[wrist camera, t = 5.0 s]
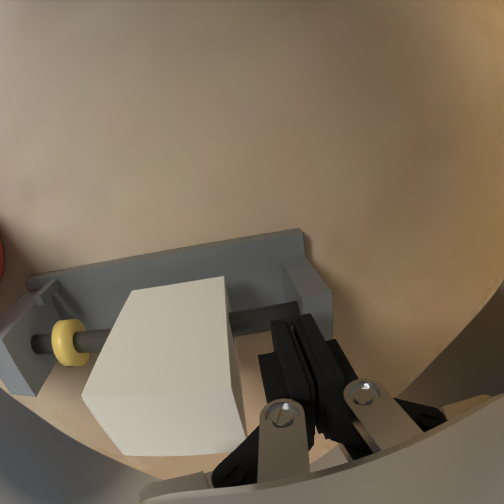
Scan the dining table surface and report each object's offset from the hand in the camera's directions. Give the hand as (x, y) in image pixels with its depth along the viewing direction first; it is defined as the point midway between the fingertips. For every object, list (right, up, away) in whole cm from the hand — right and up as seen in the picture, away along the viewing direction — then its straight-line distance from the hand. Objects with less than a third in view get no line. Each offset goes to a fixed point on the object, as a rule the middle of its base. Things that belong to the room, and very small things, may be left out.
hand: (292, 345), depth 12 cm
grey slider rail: (-8, +1, +6) cm, 10 cm away
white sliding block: (-5, +1, +4) cm, 6 cm away
